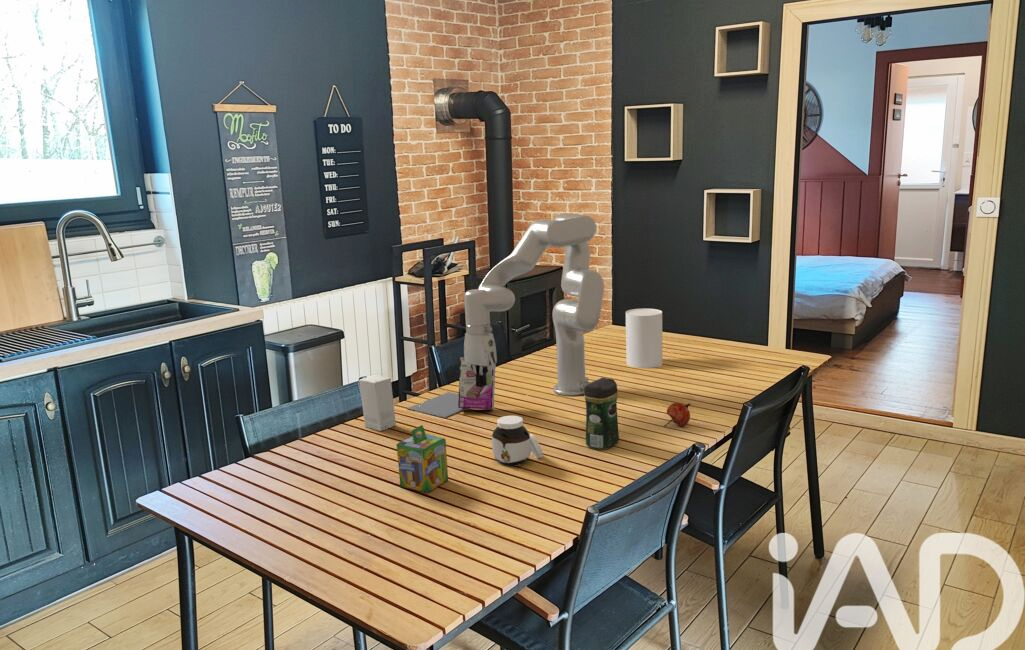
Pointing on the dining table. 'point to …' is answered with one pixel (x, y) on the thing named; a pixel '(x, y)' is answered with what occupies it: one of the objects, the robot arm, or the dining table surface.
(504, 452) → the spread jar
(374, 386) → the skincare box
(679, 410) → the pomegranate
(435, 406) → the slate mat
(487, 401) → the candy bar box
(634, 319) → the canister
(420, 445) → the chalk box
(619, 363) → the dining table surface
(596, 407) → the coffee jar
